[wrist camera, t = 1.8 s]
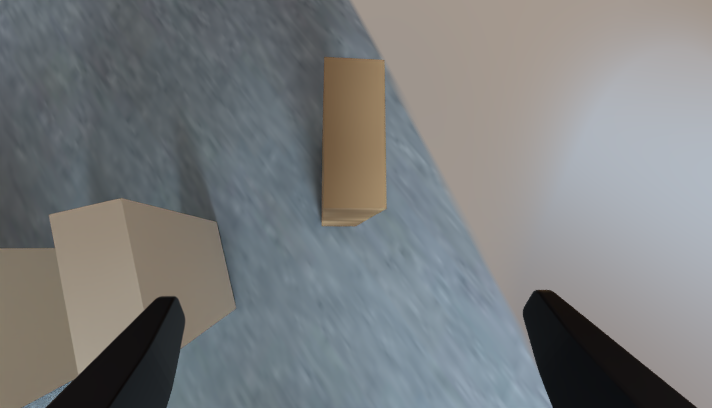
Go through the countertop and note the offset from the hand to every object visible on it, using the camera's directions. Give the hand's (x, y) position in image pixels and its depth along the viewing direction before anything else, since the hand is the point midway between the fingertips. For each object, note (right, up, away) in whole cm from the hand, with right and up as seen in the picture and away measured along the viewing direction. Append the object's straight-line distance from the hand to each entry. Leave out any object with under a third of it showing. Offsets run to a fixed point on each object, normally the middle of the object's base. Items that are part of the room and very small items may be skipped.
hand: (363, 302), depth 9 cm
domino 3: (-1, +4, +12) cm, 13 cm away
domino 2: (-8, -1, +11) cm, 14 cm away
